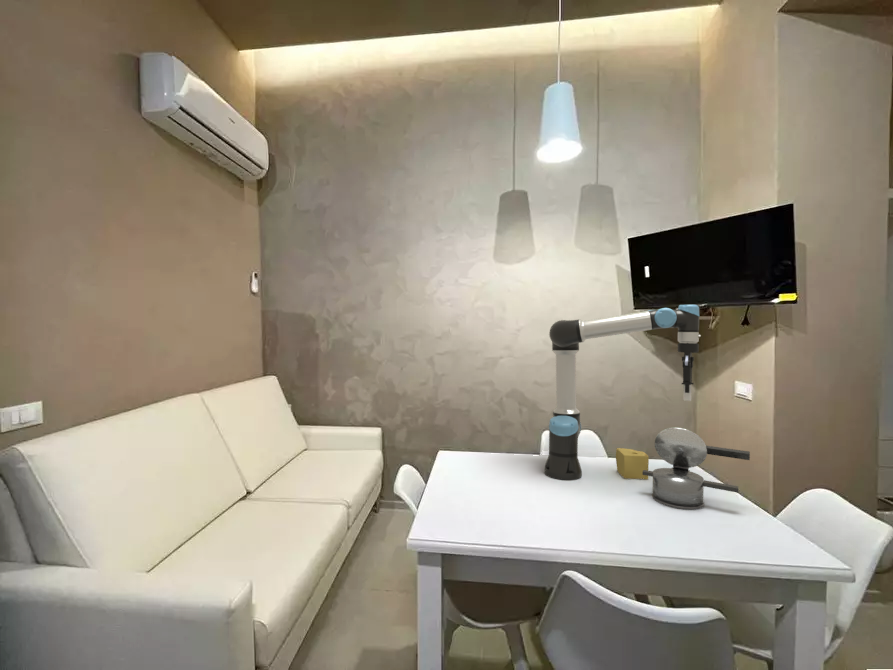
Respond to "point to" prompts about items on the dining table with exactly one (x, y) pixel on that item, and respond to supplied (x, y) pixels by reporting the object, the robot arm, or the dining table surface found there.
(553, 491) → the dining table surface
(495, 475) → the dining table surface
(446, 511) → the dining table surface
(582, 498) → the dining table surface
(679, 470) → the pot
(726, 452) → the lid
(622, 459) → the cheese
